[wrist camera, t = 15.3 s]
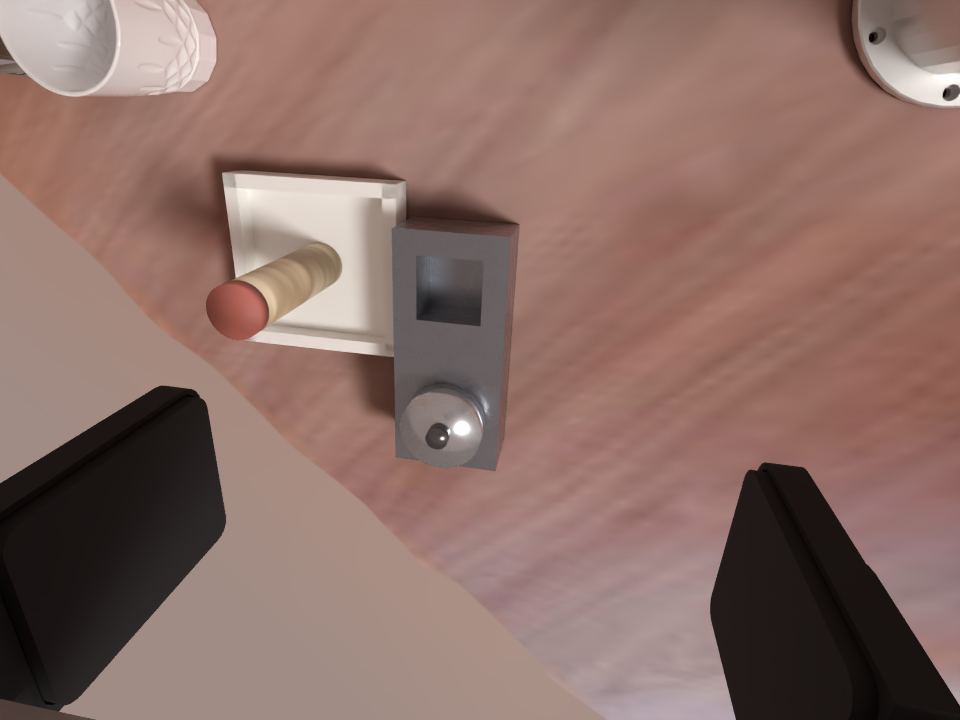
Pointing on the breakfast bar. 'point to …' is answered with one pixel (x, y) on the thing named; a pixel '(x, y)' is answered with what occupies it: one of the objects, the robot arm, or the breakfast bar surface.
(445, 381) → the block
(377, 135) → the breakfast bar surface
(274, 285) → the lock pin
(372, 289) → the tray
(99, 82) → the white cup
